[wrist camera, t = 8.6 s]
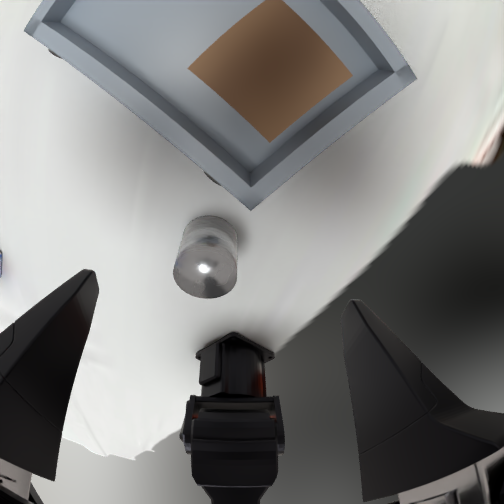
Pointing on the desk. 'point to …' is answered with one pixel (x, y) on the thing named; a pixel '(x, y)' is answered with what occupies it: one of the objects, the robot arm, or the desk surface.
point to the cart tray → (202, 96)
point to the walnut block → (271, 68)
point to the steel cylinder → (207, 258)
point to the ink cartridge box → (0, 262)
